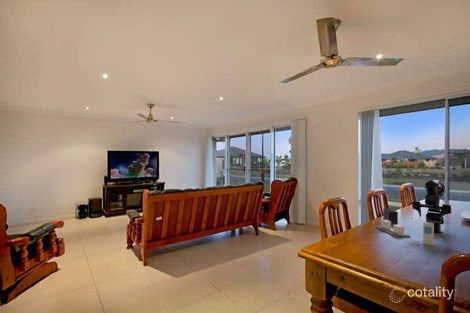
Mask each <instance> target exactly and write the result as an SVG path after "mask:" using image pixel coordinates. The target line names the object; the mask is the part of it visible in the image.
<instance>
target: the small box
mask: <svg viewBox="0 0 470 313" xmlns="http://www.w3.org/2000/svg"><path fill="white" fill-rule="evenodd" d="M382 210H383V216H382V217H383V218H382V220H388V221H391V226H393V225H399V224H398V223H399V222H398V220H399V218H398V217H399V212H398V211H396V210H394V209H391V208H383V209H382Z"/></svg>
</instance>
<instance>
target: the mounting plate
mask: <svg viewBox="0 0 470 313" xmlns="http://www.w3.org/2000/svg"><path fill="white" fill-rule="evenodd" d="M380 224H381V225H379V226H376V227H375V229H378V230H379V231H381V232H384V233H386V234H389V235H391V236H393V237H395V238H398V239H399V238H411V235H409V234H407V233H405V226H404V225H401V224H398V225H391V221H388V220H383V219H381V220H380ZM392 226H393V227H392Z"/></svg>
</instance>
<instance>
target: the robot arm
mask: <svg viewBox="0 0 470 313" xmlns="http://www.w3.org/2000/svg"><path fill="white" fill-rule="evenodd" d="M424 189H425V192H426V194H425V195H424V196H425V197H424V203H421V201H418V200H417V201H416V200H412V202H411V206H412V209H413V210H415V211H417V213H418V214H419V215H418V216H419V217H420V218H421V217H422V208H425V209H427V212H426V213H425V222H430V223H434V234H442V233H443V232H444V231H441V229H442V228H441V225H445V221H444V216H446V215H449V214H452V205H450V204H446V203H442V204H441V205H440V203H441V202H440V199H441V198H442V197H443V196H444V193H445V192H446V190H445V184H444V183H442V182H441V180H439V179H438V180H437V179H431V180H430V179H429V181H427V182H425V184H424Z"/></svg>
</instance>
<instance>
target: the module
mask: <svg viewBox="0 0 470 313" xmlns="http://www.w3.org/2000/svg"><path fill="white" fill-rule="evenodd" d="M422 224H423V227H422V229H423V230H422V232H423V235H422V238H423V240H422V241H423V242H422V243H423V244H424V245H427V246H432V247H434V245H435V233H434V223H430V222H426V221H423V222H422ZM423 244H422V245H423Z"/></svg>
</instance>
